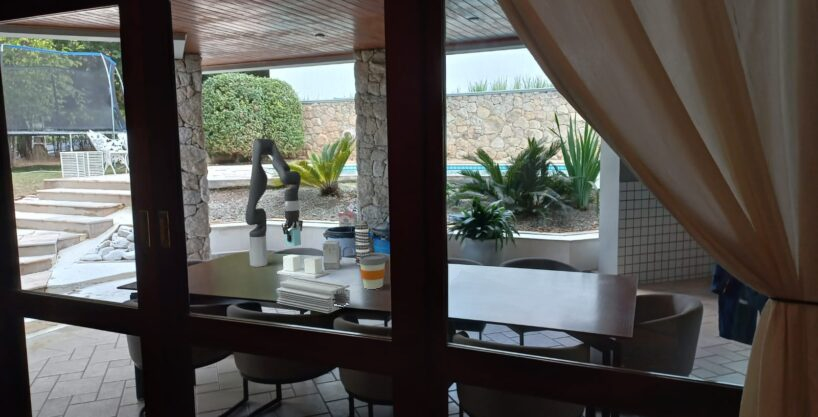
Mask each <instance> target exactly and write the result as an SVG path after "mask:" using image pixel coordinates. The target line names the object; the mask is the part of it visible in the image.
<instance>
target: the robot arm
mask: <svg viewBox="0 0 818 417" xmlns="http://www.w3.org/2000/svg"><path fill="white" fill-rule="evenodd" d="M262 156H271V157H272V161H271V164H272V167H273V169H274V170H275V171H276V172H277V175H278V177H279V180H280V183H281V184H282V185H284V186H288V185H289V186H290V185H291V186H290V188H288V189H286V190H284V192H283V193H284V195H283V196H284V204H283V205H284V206H283V207H284V218H285V222H284V223H281V227H282V232H283V235H285V236H286V235H287V241H288V242H291V231H292V230H293V228H294V229H300V232H302V231H303V224H304V221H303V220H301V219H299V218H300V204H299V203H300V202H299V191H300V185H301V181H302V180H301V179H302V177H301V174H300V172H299V171H297V170H291V167H290V164H288V163H287V162H286V161H285V159H284V158H283V156H282V154H281V152H280V150H279V148H278V147H277V144H276V142H275V141H274V140H273V139H272V138H262V137H261V138H255V139H254V141H253V146H252V164H251V166H252V167H251V176H250V181H249V192H248V200H247V205H246V210H245V216H244V218H245V223H246V224H247V226H255V228H253V229H252V230H250V231H249V233H248V234H249V249H248V253H249V265H250V267H254V268H255V267H265V266H268V251H267V250H268V249H267V248H268V246H267V227H268V226H267V222H268V221H267V213H266V210H265V209H264V208H260V207H259V208H257V206H258V203H259V201H260V199H262V197H263V196H264V194H265V193H266V191H267V186H268V180H269V179H268V175H267V173H266V170H265V169H264V167H263V164H262ZM285 230H286V231H285ZM288 231H289V232H288Z"/></svg>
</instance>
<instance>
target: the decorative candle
mask: <svg viewBox="0 0 818 417" xmlns="http://www.w3.org/2000/svg"><path fill="white" fill-rule="evenodd" d="M354 228H355V229H354V230H353V234H354V245H355V264H356V266H361V265H360V257H361V256H364V255H371V251H370V244H371V243H370V241H371V238H369V237H371V235H370V234H371V233H370V229H369V222H368V221H367V220H365V219H364V220H357V221H356V222H355V223H354Z"/></svg>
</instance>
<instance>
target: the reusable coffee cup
mask: <svg viewBox="0 0 818 417" xmlns="http://www.w3.org/2000/svg"><path fill="white" fill-rule="evenodd" d="M386 263H387V262H386V256H385V255H383V254H378V253H377V254H370V255H364V256H361V257H360V265H359V266H360V274H361V279H362V282H363V287H364V289H365V288H367V289H366V290H368V289H376V288H380V287H382V286H383V287H384V278H385V274H386V267H385V265H386ZM383 287H382V288H383ZM376 290H377V289H376Z"/></svg>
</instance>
